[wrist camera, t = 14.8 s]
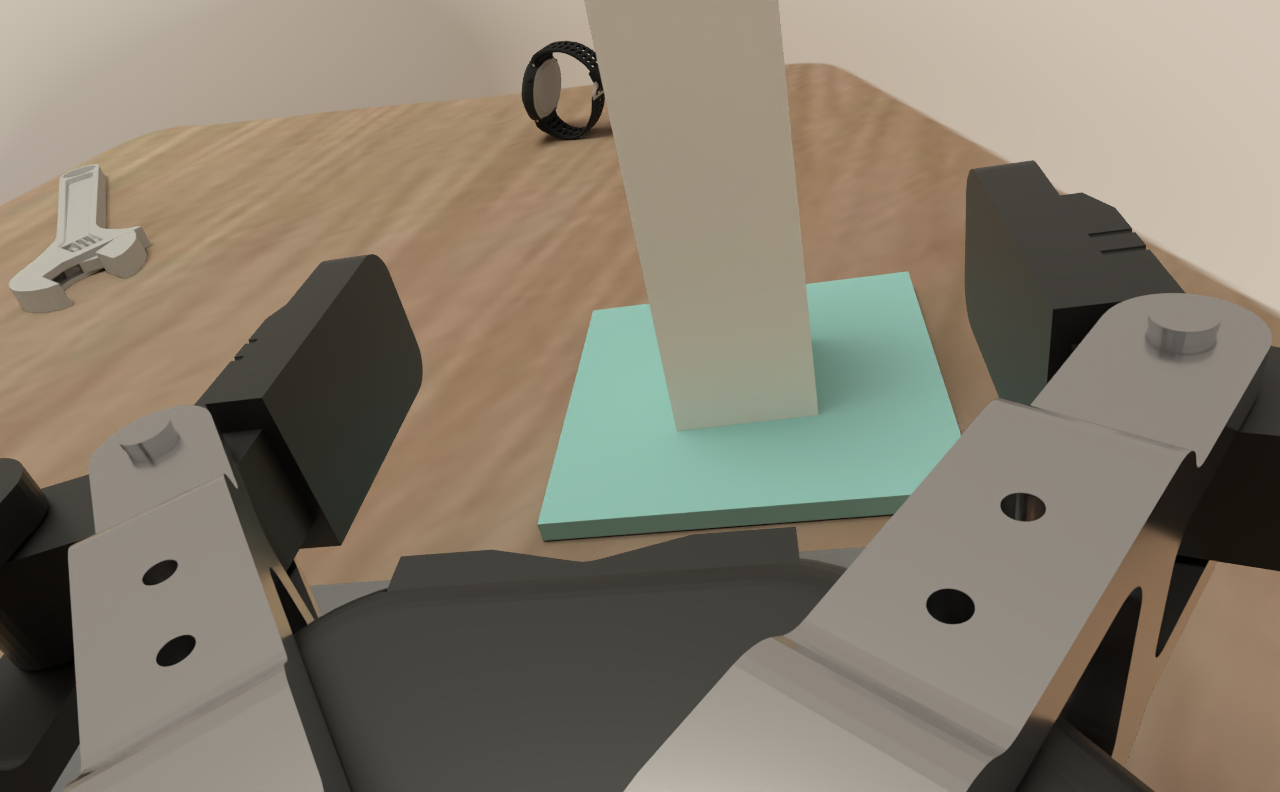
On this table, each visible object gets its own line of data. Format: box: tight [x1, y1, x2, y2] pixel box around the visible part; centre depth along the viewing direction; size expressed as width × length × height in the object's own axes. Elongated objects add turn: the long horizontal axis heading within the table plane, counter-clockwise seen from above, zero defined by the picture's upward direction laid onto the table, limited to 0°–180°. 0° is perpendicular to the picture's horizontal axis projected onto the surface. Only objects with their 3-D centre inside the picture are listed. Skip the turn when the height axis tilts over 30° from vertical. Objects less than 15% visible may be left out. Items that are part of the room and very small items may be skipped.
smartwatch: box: [522, 41, 605, 140], centre depth 49 cm, size 4×5×5 cm
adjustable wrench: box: [9, 164, 152, 313], centre depth 54 cm, size 25×6×2 cm, turn 25°
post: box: [584, 0, 819, 431], centre depth 23 cm, size 4×4×14 cm
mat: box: [538, 272, 961, 541], centre depth 27 cm, size 11×11×1 cm
